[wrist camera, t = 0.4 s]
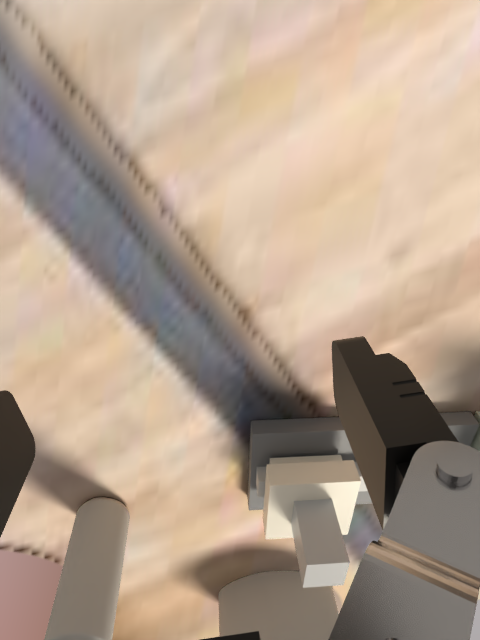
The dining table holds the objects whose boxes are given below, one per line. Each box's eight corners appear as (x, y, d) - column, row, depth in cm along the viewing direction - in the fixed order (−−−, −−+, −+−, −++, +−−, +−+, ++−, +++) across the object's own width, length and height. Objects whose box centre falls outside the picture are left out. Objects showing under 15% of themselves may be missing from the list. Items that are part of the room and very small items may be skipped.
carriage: (264, 449, 37) (279, 550, 29) (348, 445, 37) (383, 544, 30) (260, 502, 40) (273, 603, 33) (336, 498, 41) (365, 596, 34)
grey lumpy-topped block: (313, 615, 57) (330, 700, 50) (212, 615, 55) (214, 703, 48) (337, 571, 52) (359, 660, 44) (225, 569, 49) (229, 661, 42)
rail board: (250, 420, 37) (254, 448, 35) (470, 411, 39) (489, 438, 36) (247, 496, 43) (250, 525, 40) (440, 485, 44) (454, 513, 41)
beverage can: (72, 496, 41) (30, 648, 31) (125, 491, 41) (101, 641, 31) (84, 527, 43) (49, 677, 33) (134, 522, 44) (114, 670, 34)
